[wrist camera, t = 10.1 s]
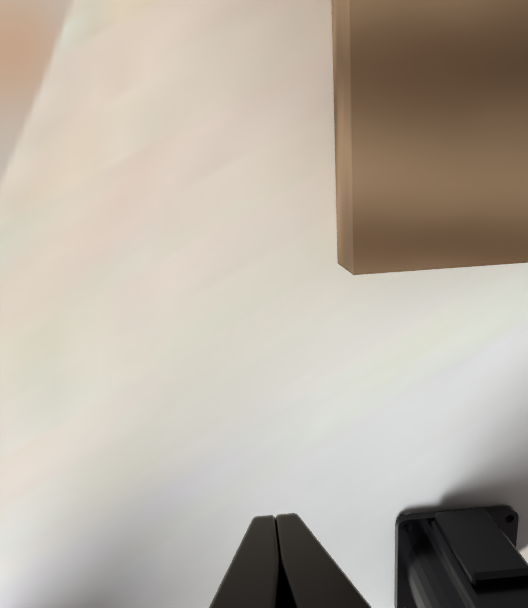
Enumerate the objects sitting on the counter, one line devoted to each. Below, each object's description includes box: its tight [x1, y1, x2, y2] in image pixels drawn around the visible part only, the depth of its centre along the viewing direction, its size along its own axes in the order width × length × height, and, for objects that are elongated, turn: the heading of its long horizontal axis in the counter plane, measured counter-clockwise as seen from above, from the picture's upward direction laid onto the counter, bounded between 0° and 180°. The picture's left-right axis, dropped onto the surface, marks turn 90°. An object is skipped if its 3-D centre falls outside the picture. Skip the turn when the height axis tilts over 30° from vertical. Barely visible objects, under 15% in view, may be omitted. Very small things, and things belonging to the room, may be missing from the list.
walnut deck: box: [332, 0, 528, 275], centre depth 18 cm, size 14×12×3 cm
